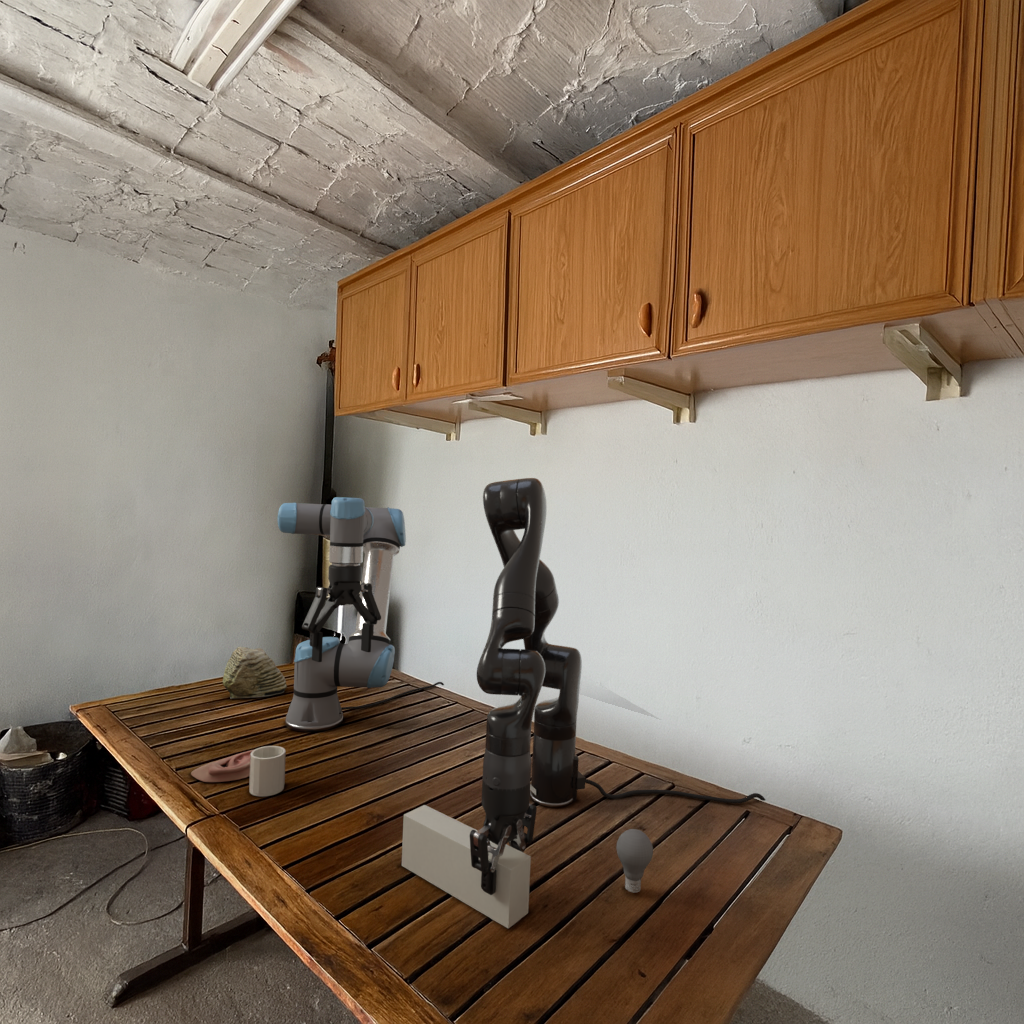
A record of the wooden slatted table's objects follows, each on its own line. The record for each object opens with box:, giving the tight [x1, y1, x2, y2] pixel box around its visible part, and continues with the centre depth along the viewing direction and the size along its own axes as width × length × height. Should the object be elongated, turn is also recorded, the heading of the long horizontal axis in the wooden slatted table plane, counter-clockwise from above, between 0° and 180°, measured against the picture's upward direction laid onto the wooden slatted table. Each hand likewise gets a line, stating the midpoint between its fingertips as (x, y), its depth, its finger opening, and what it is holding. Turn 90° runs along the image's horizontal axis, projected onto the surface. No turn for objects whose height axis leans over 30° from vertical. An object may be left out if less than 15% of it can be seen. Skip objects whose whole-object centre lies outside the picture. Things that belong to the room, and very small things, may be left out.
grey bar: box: [401, 804, 532, 929], centre depth 105 cm, size 24×5×9 cm, turn 51°
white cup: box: [248, 745, 287, 797], centre depth 136 cm, size 7×7×8 cm
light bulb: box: [615, 828, 654, 894], centre depth 106 cm, size 6×6×10 cm
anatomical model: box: [190, 749, 254, 783], centre depth 143 cm, size 13×4×12 cm
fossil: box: [222, 646, 288, 699], centre depth 198 cm, size 9×18×15 cm, turn 132°
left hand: (342, 656), depth 146 cm, fingers open, 13 cm apart
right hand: (501, 882), depth 99 cm, fingers open, 6 cm apart
